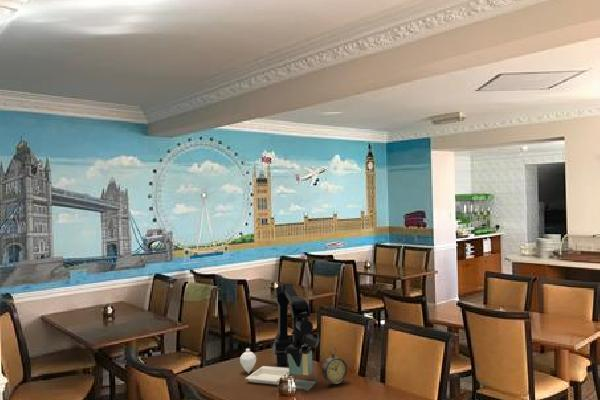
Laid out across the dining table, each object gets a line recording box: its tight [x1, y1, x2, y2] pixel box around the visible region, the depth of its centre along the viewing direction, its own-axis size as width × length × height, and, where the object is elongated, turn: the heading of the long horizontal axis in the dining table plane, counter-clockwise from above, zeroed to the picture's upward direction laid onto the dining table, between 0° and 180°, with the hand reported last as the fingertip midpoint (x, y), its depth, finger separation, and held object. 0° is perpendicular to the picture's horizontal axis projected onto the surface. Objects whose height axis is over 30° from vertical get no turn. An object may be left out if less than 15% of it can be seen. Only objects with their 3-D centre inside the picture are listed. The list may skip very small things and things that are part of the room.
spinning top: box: [239, 348, 257, 374], centre depth 234 cm, size 8×8×12 cm
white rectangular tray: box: [245, 365, 291, 386], centre depth 225 cm, size 18×15×3 cm
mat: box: [294, 379, 317, 392], centre depth 216 cm, size 10×10×1 cm
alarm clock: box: [321, 346, 348, 388], centre depth 216 cm, size 11×5×16 cm, turn 117°
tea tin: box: [288, 350, 313, 376], centre depth 217 cm, size 5×9×9 cm, turn 69°
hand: (300, 364), depth 217 cm, fingers closed on tea tin, 5 cm apart
